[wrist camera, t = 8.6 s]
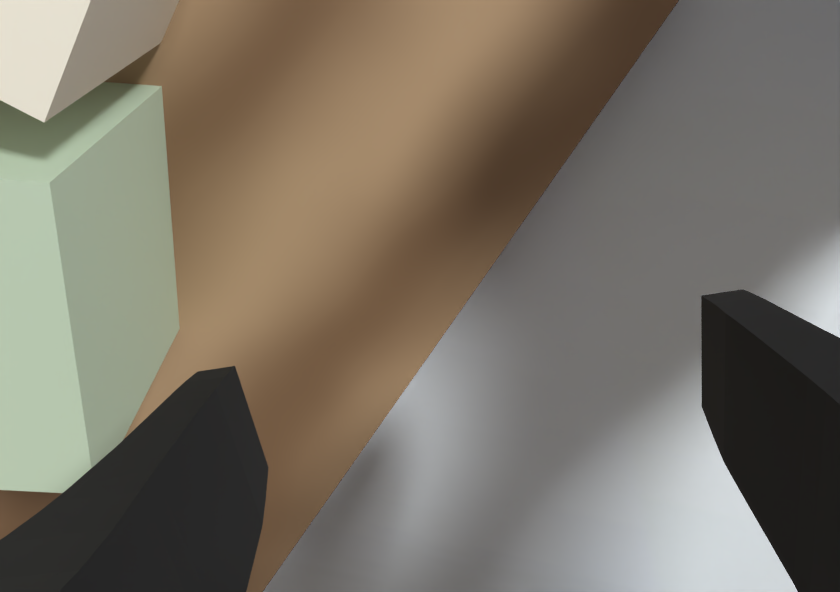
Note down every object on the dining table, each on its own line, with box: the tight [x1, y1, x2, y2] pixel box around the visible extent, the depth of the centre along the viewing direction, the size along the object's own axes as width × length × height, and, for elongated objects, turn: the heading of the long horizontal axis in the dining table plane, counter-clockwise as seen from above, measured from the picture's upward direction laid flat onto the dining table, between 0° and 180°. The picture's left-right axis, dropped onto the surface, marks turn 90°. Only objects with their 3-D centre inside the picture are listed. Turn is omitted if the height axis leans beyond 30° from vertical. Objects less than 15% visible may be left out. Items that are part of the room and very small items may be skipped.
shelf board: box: [0, 0, 679, 592], centre depth 20 cm, size 16×24×4 cm
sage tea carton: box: [0, 82, 180, 493], centre depth 17 cm, size 4×6×6 cm, turn 176°
